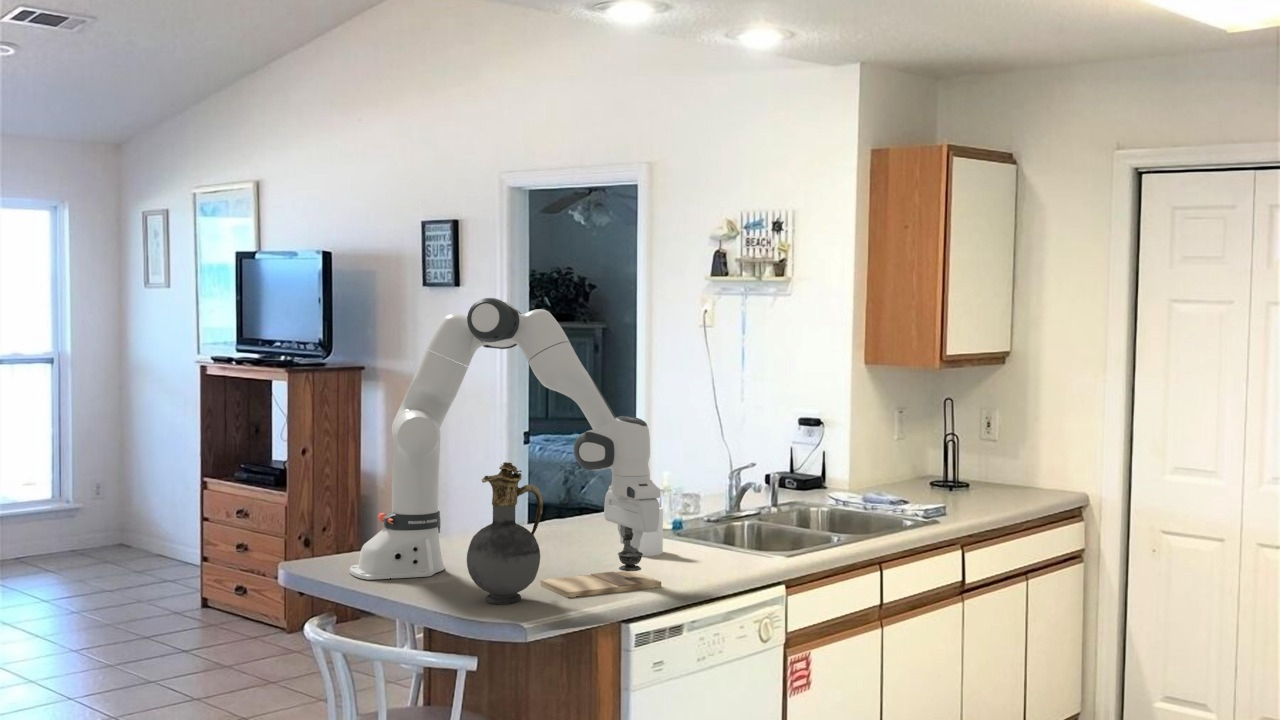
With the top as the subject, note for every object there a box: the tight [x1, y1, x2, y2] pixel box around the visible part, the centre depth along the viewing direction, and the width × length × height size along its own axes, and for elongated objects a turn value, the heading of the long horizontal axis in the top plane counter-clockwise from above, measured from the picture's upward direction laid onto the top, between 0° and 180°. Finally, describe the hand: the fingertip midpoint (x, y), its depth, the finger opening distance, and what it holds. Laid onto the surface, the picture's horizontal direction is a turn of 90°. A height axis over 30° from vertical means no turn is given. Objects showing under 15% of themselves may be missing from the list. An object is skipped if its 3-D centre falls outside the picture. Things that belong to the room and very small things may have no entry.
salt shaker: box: [617, 527, 643, 572], centre depth 289 cm, size 6×6×12 cm
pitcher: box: [466, 461, 544, 605], centre depth 271 cm, size 11×19×30 cm, turn 138°
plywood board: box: [540, 570, 662, 599], centre depth 285 cm, size 24×14×1 cm, turn 120°
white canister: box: [637, 506, 664, 557], centre depth 325 cm, size 9×9×12 cm
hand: (630, 545), depth 289 cm, fingers closed on salt shaker, 3 cm apart
